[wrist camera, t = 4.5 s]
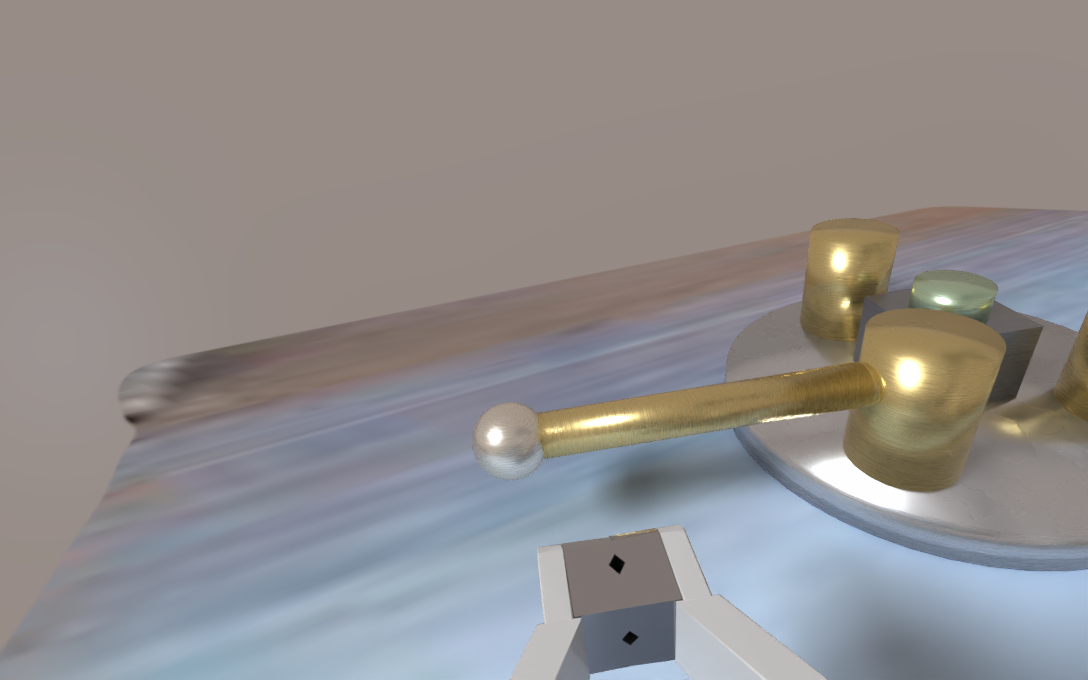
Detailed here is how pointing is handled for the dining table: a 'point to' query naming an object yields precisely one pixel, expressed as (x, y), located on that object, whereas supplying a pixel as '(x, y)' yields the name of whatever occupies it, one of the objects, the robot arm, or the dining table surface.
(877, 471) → the brass lever handle
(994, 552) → the tribrach
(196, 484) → the dining table surface
